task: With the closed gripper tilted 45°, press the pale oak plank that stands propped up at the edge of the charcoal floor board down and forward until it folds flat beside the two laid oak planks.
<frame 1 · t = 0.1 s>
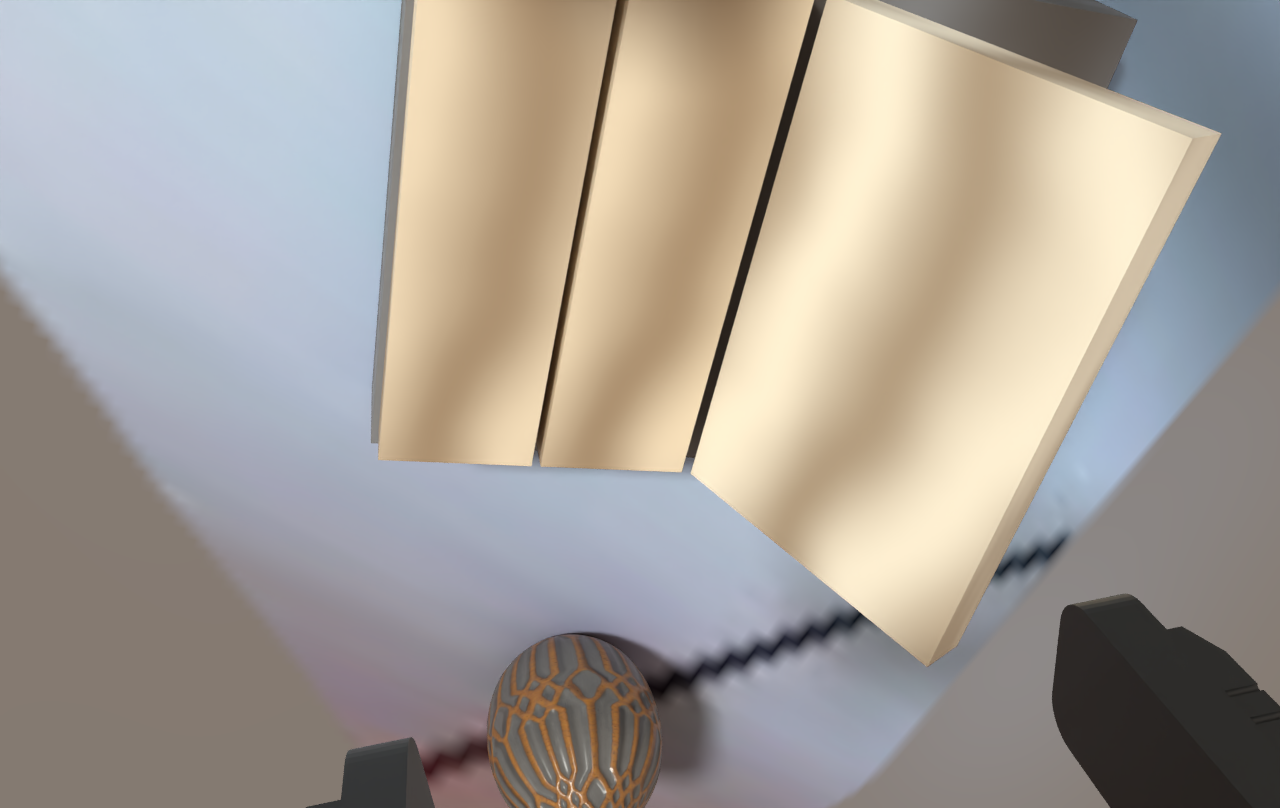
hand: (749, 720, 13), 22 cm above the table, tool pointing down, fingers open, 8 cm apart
vase: (561, 662, 45), on the table
floor board: (710, 200, 33), on the table
oak plank: (896, 341, 28), point 8 cm above the table, hinge at 60.0°
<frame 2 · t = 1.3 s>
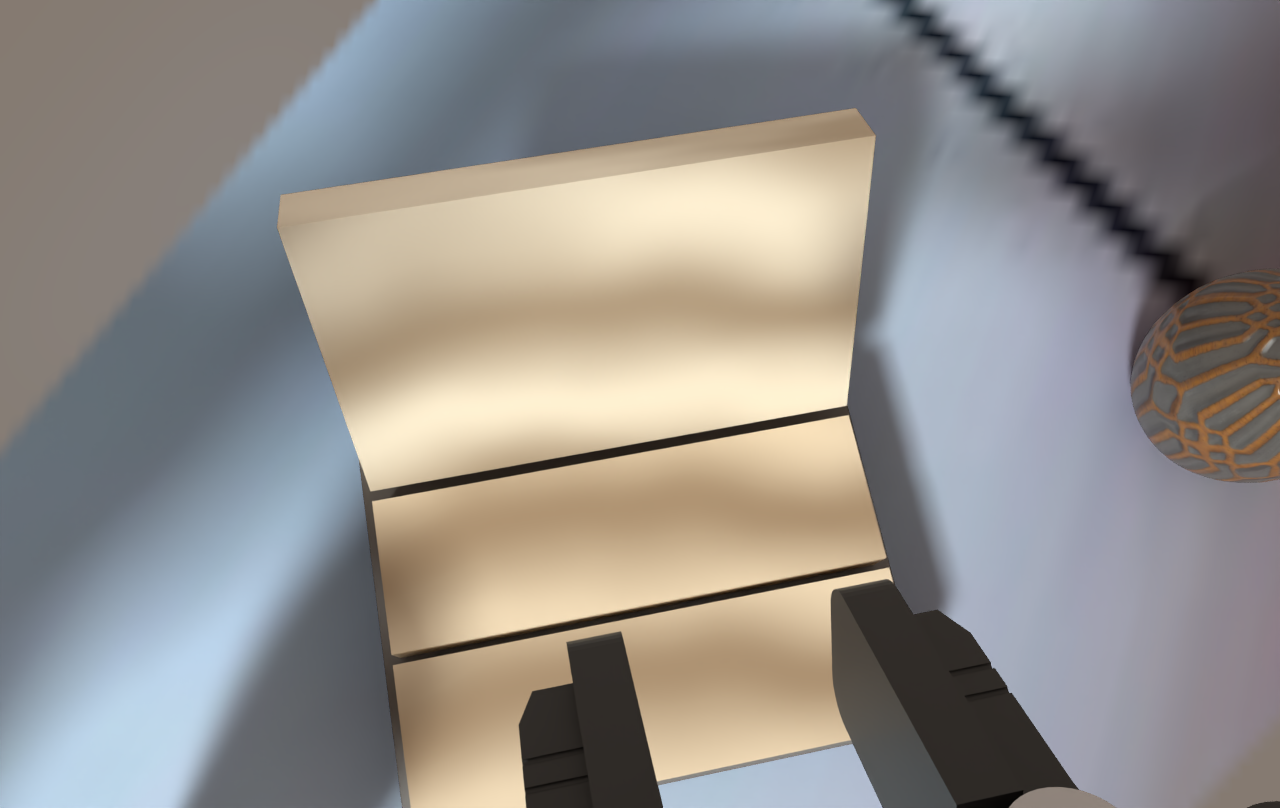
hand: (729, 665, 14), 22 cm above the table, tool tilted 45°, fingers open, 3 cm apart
vase: (1190, 409, 39), on the table
floor board: (611, 480, 37), on the table
oak plank: (596, 312, 30), point 8 cm above the table, hinge at 60.0°
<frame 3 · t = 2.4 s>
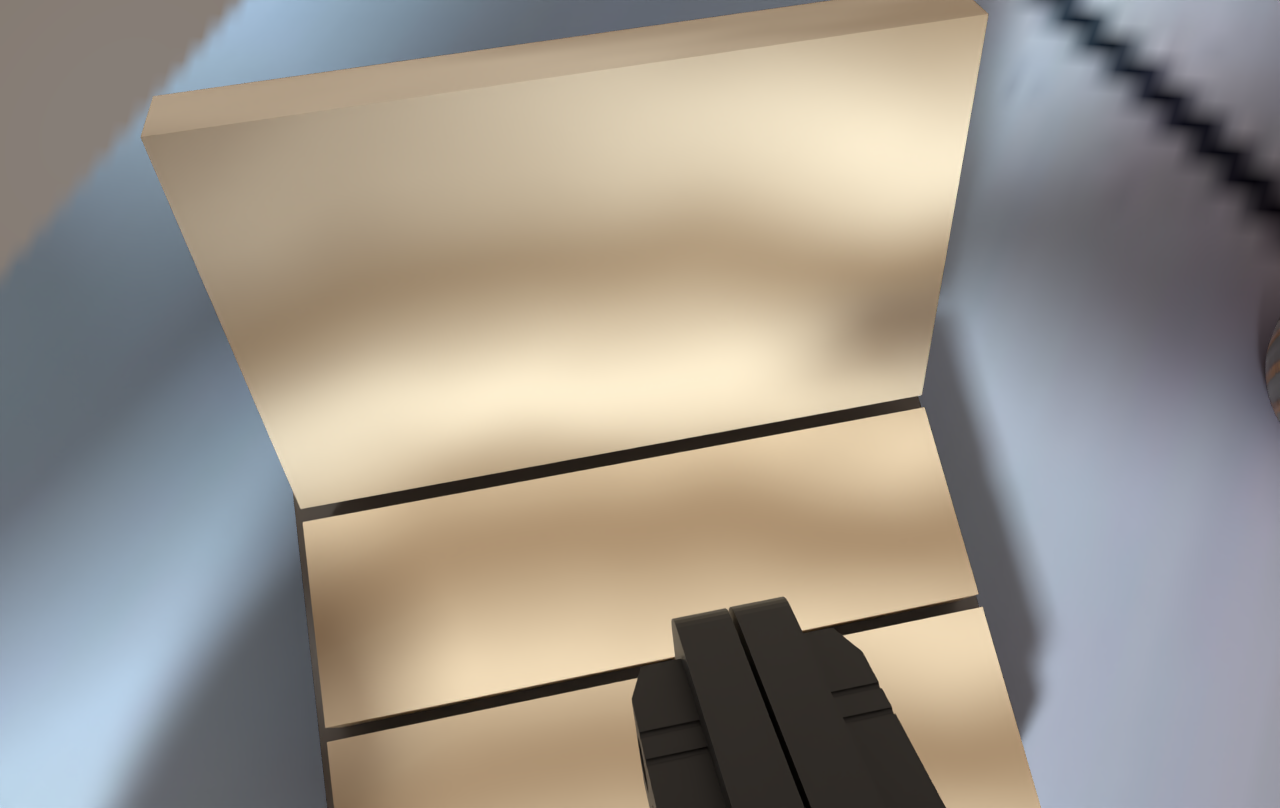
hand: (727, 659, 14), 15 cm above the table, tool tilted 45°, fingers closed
floor board: (616, 491, 29), on the table
oak plank: (598, 269, 22), point 8 cm above the table, hinge at 60.0°
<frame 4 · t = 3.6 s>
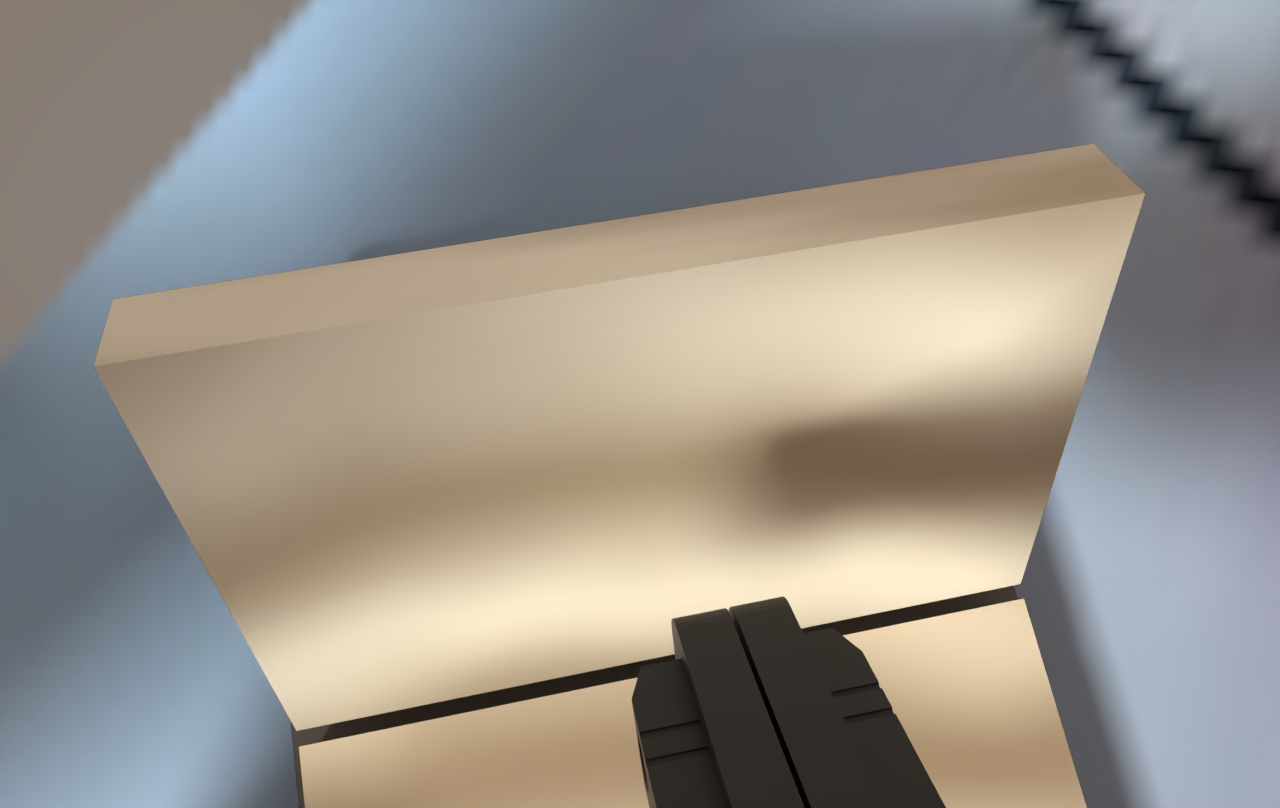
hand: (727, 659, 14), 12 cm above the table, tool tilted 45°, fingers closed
floor board: (657, 666, 25), on the table
oak plank: (652, 468, 18), point 8 cm above the table, hinge at 60.0°
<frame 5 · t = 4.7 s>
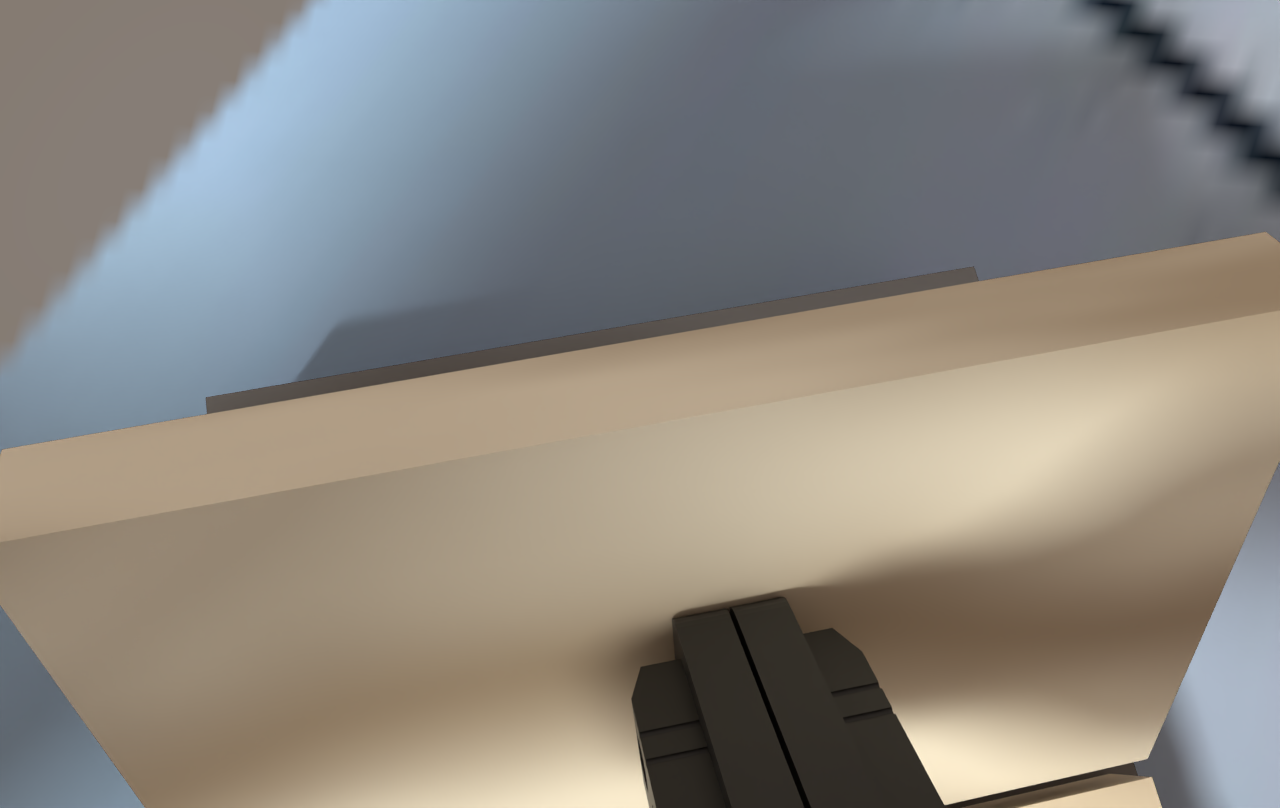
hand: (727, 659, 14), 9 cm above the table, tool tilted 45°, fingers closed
oak plank: (702, 638, 15), point 8 cm above the table, hinge at 56.5°, touching gripper
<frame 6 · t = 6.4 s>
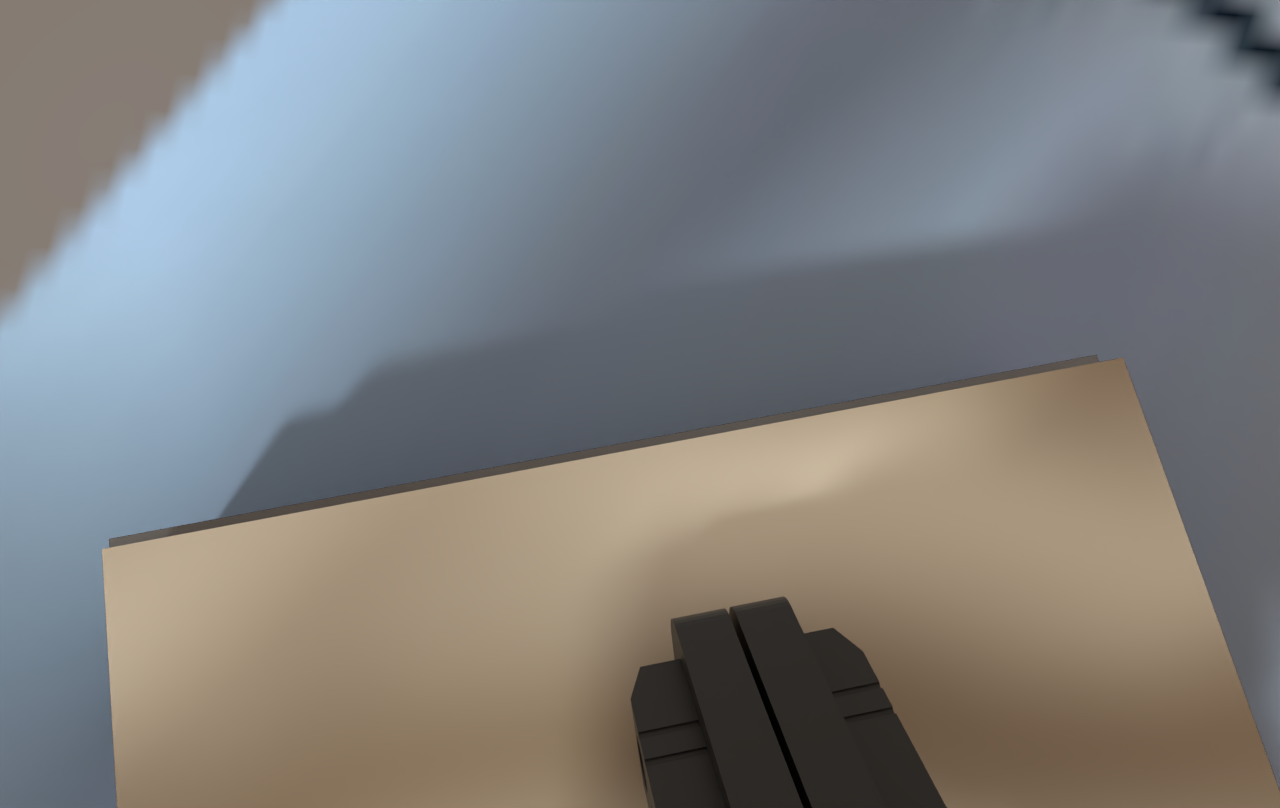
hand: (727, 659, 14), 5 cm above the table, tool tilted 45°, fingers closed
oak plank: (707, 788, 14), point 4 cm above the table, hinge at -0.3°, touching floor board, gripper
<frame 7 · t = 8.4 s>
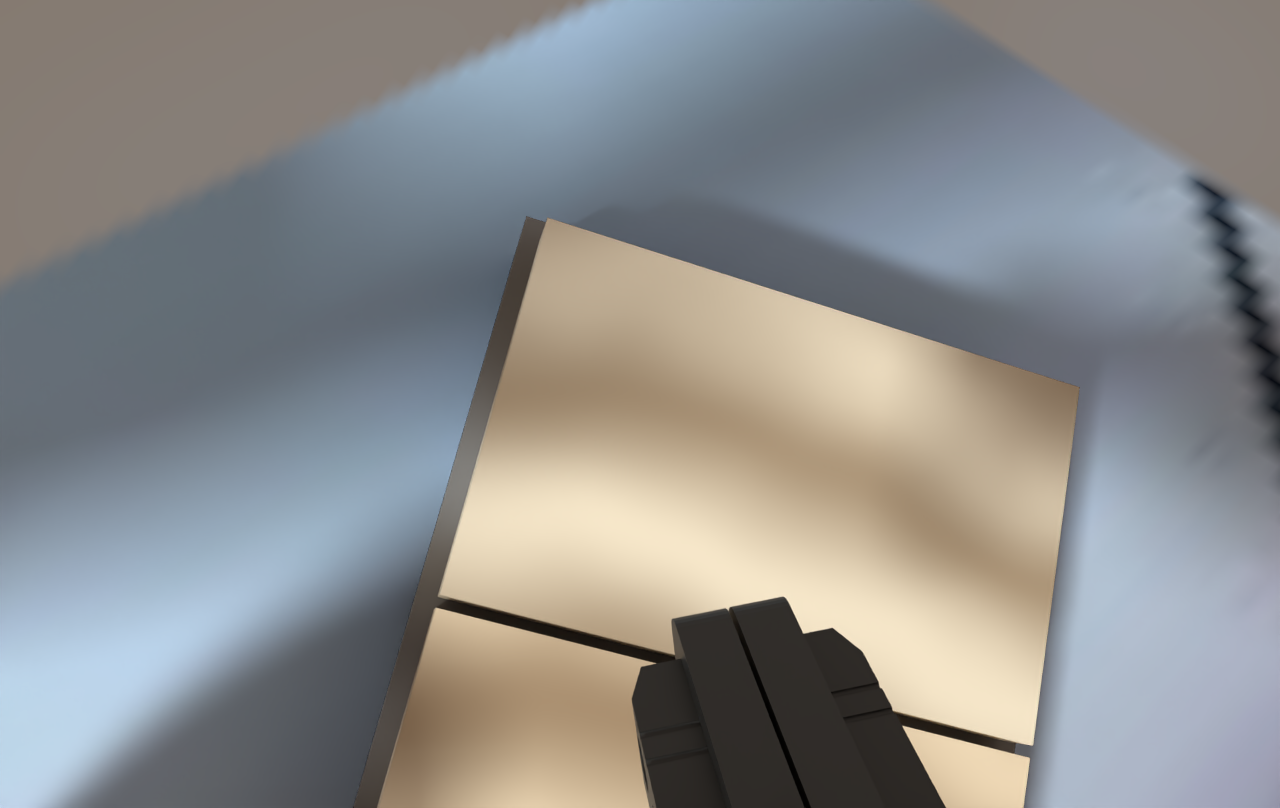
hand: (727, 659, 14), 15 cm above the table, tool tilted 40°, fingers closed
floor board: (698, 667, 29), on the table
oak plank: (779, 485, 27), point 4 cm above the table, hinge at -0.3°, touching floor board
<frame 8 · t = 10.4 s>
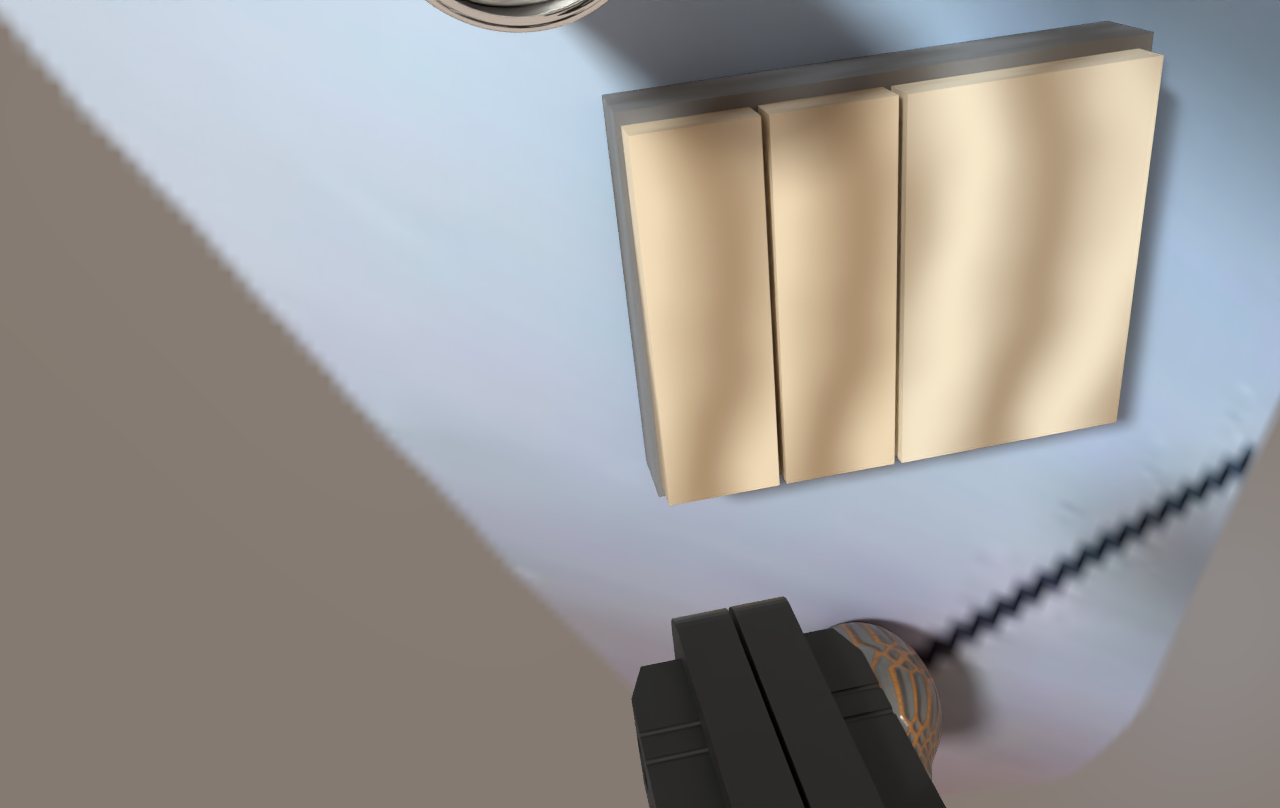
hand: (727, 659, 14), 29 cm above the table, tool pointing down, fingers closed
vase: (838, 651, 54), on the table
floor board: (861, 255, 43), on the table
oak plank: (1013, 268, 41), point 4 cm above the table, hinge at -0.3°, touching floor board
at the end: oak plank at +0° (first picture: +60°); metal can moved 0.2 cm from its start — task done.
